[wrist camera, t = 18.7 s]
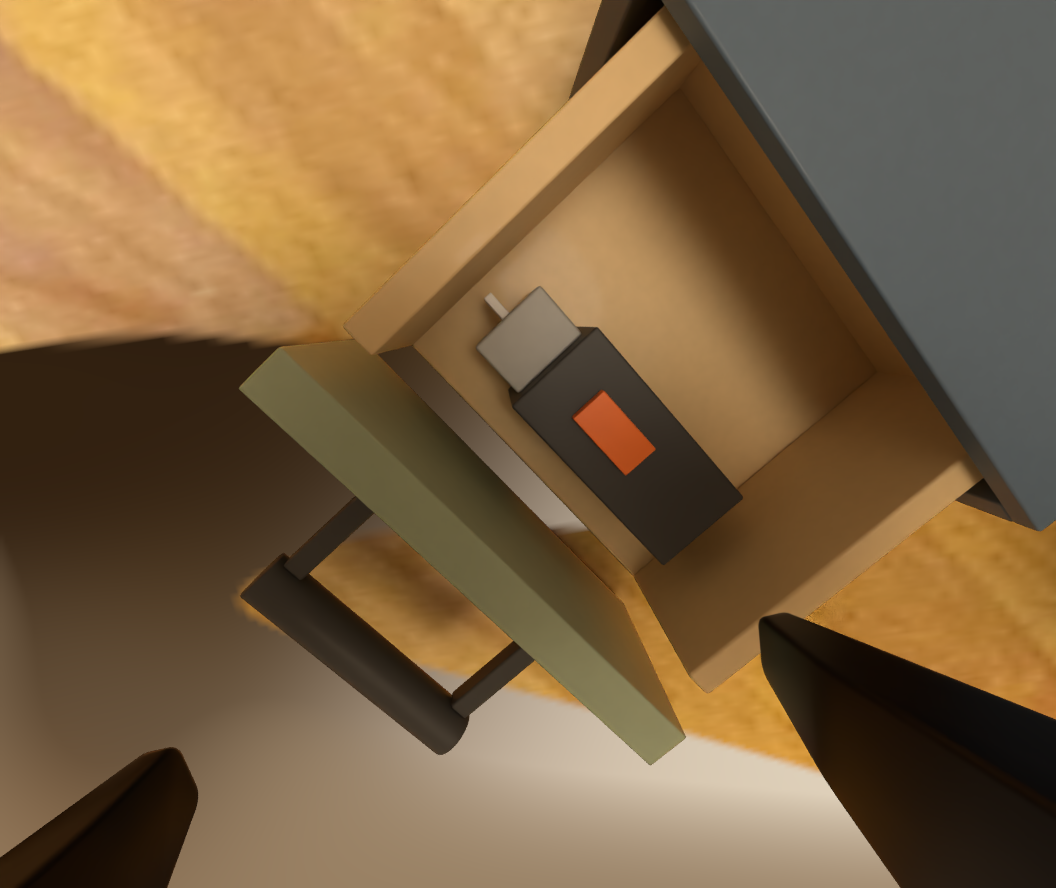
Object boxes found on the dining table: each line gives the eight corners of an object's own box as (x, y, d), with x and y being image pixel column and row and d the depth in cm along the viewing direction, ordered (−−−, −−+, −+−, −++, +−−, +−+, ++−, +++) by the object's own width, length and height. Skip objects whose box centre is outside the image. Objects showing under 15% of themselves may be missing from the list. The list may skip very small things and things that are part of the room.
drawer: (502, 704, 19) (507, 877, 13) (229, 467, 16) (75, 550, 10) (892, 380, 17) (1108, 411, 11) (659, 44, 14) (781, -161, 8)
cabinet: (815, 447, 18) (1040, 533, 11) (561, 117, 15) (629, -88, 8) (1153, 166, 17) (1696, 37, 9) (949, -267, 13) (1518, -1003, 6)
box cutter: (696, 464, 16) (751, 502, 13) (631, 520, 16) (667, 572, 13) (522, 265, 14) (532, 246, 11) (453, 332, 15) (441, 335, 11)
